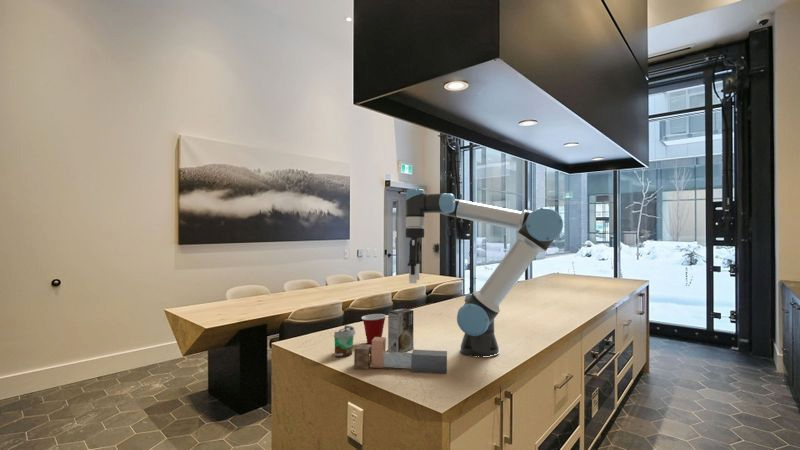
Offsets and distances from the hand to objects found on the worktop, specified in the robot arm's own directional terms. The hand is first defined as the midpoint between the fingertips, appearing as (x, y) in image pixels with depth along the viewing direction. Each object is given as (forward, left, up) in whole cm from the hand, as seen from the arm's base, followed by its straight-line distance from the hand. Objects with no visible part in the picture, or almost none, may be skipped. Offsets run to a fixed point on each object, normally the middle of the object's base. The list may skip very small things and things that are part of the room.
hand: (414, 281), depth 151 cm
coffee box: (+6, -6, -29) cm, 30 cm away
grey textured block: (+16, +17, -29) cm, 37 cm away
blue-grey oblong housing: (-7, +17, -29) cm, 34 cm away
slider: (+6, +17, -28) cm, 33 cm away
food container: (+26, +4, -29) cm, 39 cm away
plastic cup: (+19, -14, -29) cm, 37 cm away
